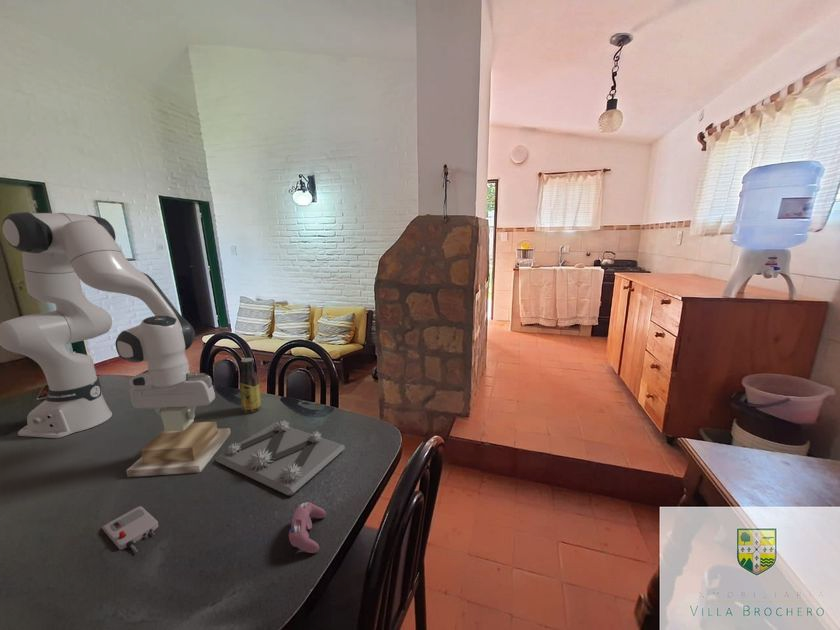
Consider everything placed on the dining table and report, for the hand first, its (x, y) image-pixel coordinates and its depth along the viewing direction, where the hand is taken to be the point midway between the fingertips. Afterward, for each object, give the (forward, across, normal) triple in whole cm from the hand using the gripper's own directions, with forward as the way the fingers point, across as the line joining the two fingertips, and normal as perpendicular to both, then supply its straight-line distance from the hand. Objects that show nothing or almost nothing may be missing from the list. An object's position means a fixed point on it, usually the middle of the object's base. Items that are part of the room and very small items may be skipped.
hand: (178, 419), depth 93 cm
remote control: (+12, -4, +26) cm, 29 cm away
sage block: (+2, 0, 0) cm, 2 cm away
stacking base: (+11, 0, 0) cm, 11 cm away
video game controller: (+12, -42, +32) cm, 54 cm away
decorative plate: (+12, -29, +4) cm, 32 cm away
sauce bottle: (+11, -10, -24) cm, 28 cm away
